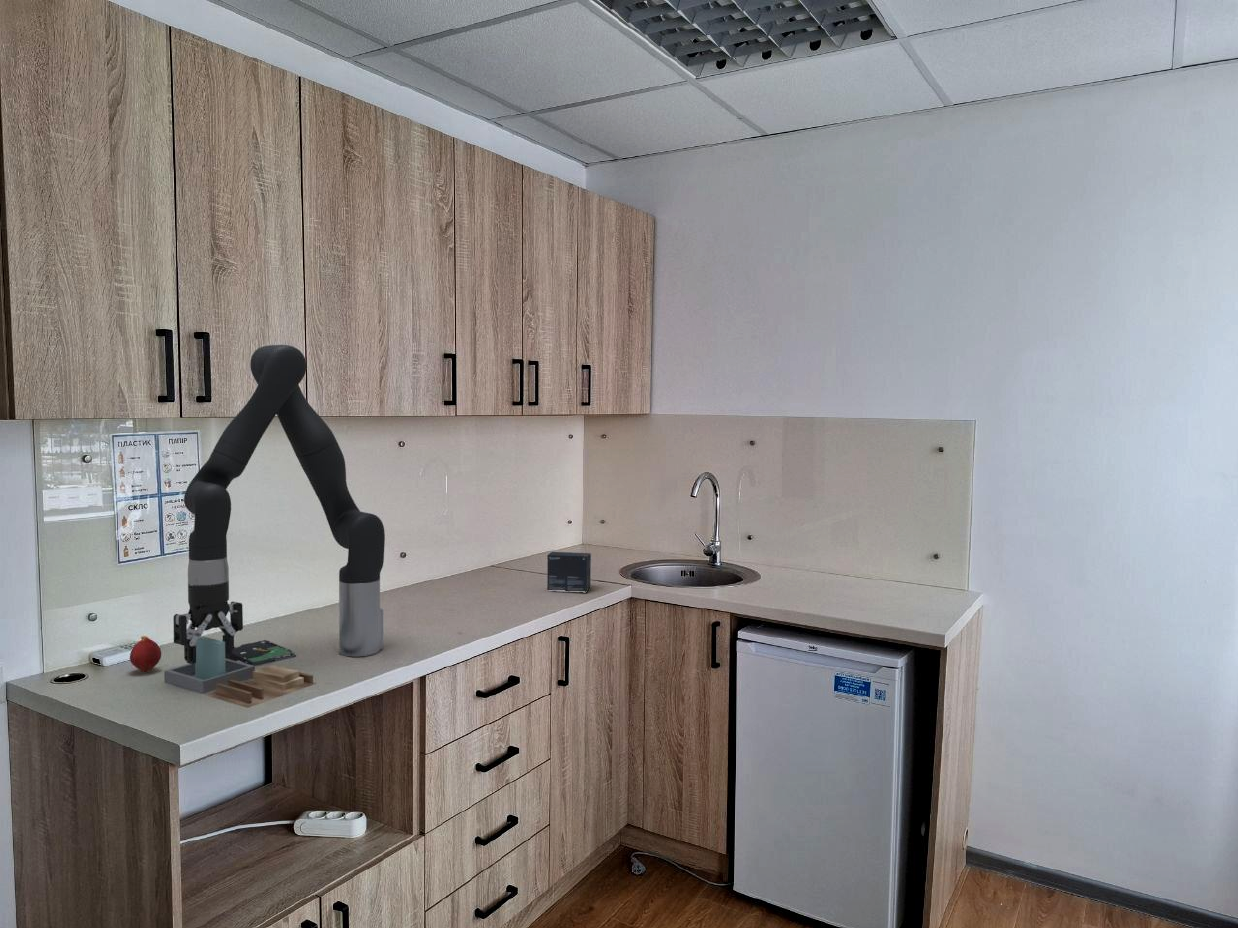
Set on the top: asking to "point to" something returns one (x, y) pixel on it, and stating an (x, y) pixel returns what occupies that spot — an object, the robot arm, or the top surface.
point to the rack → (253, 691)
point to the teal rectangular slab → (209, 658)
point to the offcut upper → (276, 674)
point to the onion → (145, 654)
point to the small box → (568, 571)
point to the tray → (185, 678)
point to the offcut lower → (278, 685)
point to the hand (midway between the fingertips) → (209, 657)
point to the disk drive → (259, 653)
